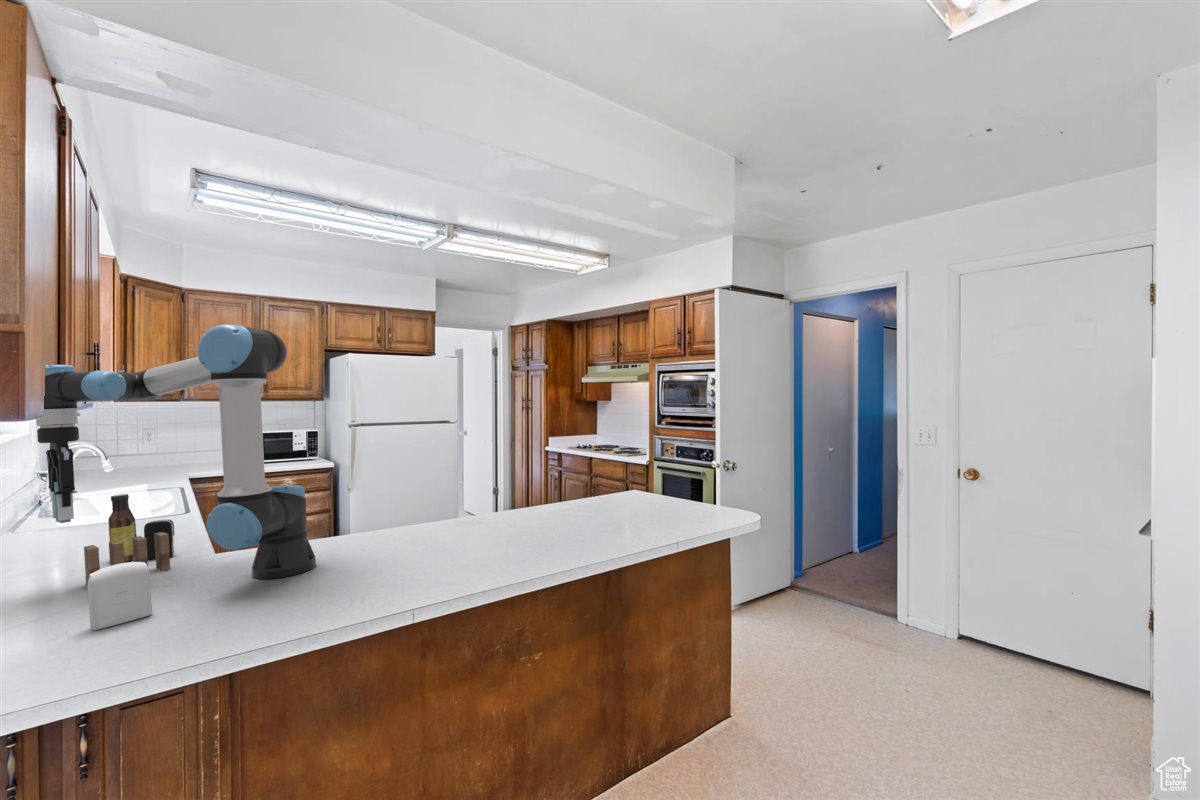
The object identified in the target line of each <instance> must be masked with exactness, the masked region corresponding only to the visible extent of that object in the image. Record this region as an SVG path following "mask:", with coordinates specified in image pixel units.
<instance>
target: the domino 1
mask: <svg viewBox="0 0 1200 800" xmlns="http://www.w3.org/2000/svg"><path fill="white" fill-rule="evenodd" d="M55 492H58V485H57V482H54V492H53V493H55ZM54 495H55V494H54ZM55 513H56V518H55V522H57V523H60V524H65V523H71V522H72V519H68V520H62V521H58V503H57V495H55Z"/></svg>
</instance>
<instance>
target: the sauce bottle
mask: <svg viewBox="0 0 1200 800" xmlns="http://www.w3.org/2000/svg"><path fill="white" fill-rule="evenodd" d="M129 498H130V497H129V493H120V494H114V495H111V496H110V501H111V507H112V509H111V510H112V512H111V514H110V516H109V517H108V519H107V520H108V536H109V539H108V540H109V542H112V541H120V542H123V548H124V563H128V562H130V561H131V562H132V561H133V545H132V538H133V537H138V536H137V535H138V534H137V523H136V518H135V517H134V514H133V513H132V511H131V509H130V506H129V505H130V504H129Z"/></svg>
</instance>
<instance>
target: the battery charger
mask: <svg viewBox="0 0 1200 800" xmlns="http://www.w3.org/2000/svg"><path fill="white" fill-rule="evenodd" d="M159 532H164V533H167V534H169V552H170V558H173V557H174V556H175V550H174V536H175V535H176V534H175V523H174V521H173V520H171V519H159V520H151V521H149V522H147V523H146V524H144V526H143V537H144V538H146V540H147V558H148V561H153V560H156V555H155V537H154V533H159Z"/></svg>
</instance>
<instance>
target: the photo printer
mask: <svg viewBox="0 0 1200 800" xmlns="http://www.w3.org/2000/svg"><path fill="white" fill-rule="evenodd" d="M150 575H151V574H150V569H149V566H148V567H147V564H146V563H145V562H133V561H131V562H130V561H127V562H124V563H121V564H116V565H112V566H110V565H109V566H107V567H103V568H100V570H98V571H96V572H93V573H92V574H90V575H89V580H88V586H87V585H86V586H87V598H88V599H87V600H88V611H89V612H88V613H89V624H90V630H92V631H99V630H102V629H105V628H108V627H109V628H110V627H112V626H116V625H120V624H124V623H127V622H131V621H135V620H138V619H141V618H145V617H149V616H151V615H152V614H153V604H152V603H153V601H152V587H151V586H152V585H151V576H150Z"/></svg>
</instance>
